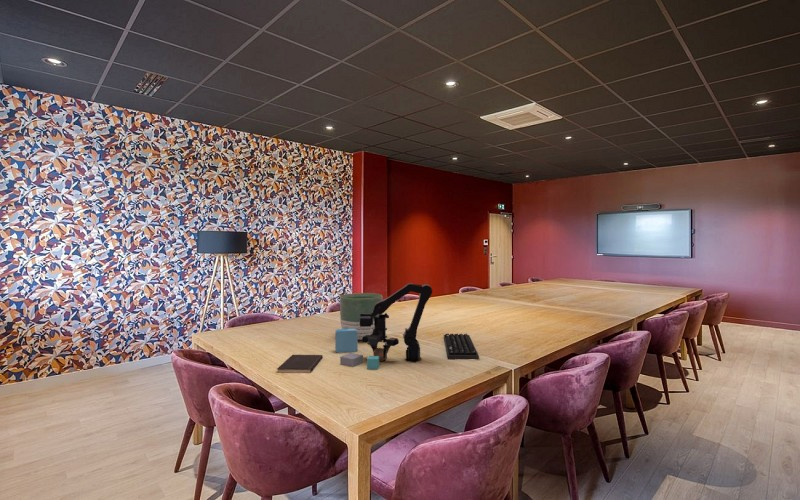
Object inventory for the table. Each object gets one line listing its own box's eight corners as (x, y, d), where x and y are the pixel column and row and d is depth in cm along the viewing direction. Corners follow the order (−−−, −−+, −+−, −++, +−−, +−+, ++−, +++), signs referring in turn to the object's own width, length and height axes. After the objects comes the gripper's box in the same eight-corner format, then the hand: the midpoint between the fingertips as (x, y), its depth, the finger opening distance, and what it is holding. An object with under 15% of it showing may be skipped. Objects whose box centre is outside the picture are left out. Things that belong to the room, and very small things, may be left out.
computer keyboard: (443, 339, 243) (443, 332, 243) (469, 339, 242) (469, 333, 242) (447, 360, 198) (447, 353, 198) (478, 361, 197) (478, 353, 197)
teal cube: (379, 366, 187) (379, 356, 187) (377, 369, 182) (377, 359, 182) (369, 365, 188) (369, 355, 188) (367, 369, 183) (367, 358, 183)
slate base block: (363, 363, 193) (363, 355, 193) (353, 367, 186) (353, 359, 186) (350, 360, 197) (350, 352, 197) (340, 364, 191) (340, 356, 190)
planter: (356, 346, 224) (356, 300, 223) (331, 338, 243) (331, 295, 243) (391, 338, 241) (391, 295, 241) (365, 331, 261) (365, 291, 261)
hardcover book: (276, 373, 179) (276, 368, 179) (292, 359, 202) (292, 354, 202) (311, 374, 178) (310, 369, 178) (322, 359, 201) (322, 354, 201)
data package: (357, 349, 217) (356, 328, 217) (357, 351, 213) (357, 330, 212) (335, 350, 215) (335, 329, 215) (335, 352, 210) (335, 331, 210)
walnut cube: (386, 358, 198) (386, 348, 198) (382, 361, 194) (382, 351, 194) (378, 357, 200) (378, 347, 200) (373, 359, 196) (373, 349, 196)
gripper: (355, 327, 194) (356, 358, 194) (388, 331, 185) (388, 363, 186) (367, 323, 204) (367, 353, 204) (399, 327, 195) (399, 357, 196)
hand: (380, 357), depth 197 cm, fingers closed on walnut cube, 5 cm apart
